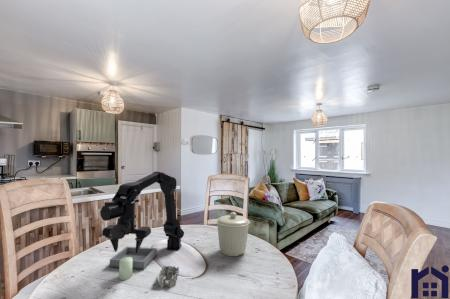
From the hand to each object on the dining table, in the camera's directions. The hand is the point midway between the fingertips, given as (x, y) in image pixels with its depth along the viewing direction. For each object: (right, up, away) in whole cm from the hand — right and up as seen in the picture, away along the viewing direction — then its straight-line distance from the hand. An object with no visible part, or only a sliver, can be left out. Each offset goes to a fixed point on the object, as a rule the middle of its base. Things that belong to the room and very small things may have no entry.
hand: (126, 251), depth 91 cm
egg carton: (+18, -11, -2) cm, 21 cm away
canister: (+45, -12, +25) cm, 53 cm away
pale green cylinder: (0, -10, 0) cm, 10 cm away
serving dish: (-2, -11, +13) cm, 17 cm away
